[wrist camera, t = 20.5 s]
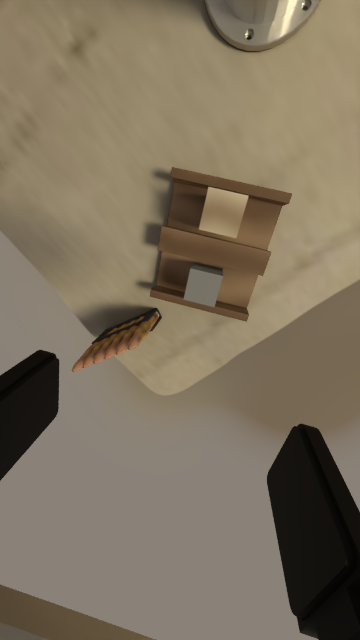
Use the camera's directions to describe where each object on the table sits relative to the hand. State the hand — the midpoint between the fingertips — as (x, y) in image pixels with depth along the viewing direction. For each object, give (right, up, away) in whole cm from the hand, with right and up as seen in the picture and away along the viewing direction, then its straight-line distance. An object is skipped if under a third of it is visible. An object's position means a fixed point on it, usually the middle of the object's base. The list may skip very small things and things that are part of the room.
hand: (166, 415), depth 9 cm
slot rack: (+5, +14, +24) cm, 29 cm away
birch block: (+6, +17, +22) cm, 29 cm away
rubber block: (+4, +10, +25) cm, 27 cm away
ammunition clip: (-7, +3, +31) cm, 32 cm away
